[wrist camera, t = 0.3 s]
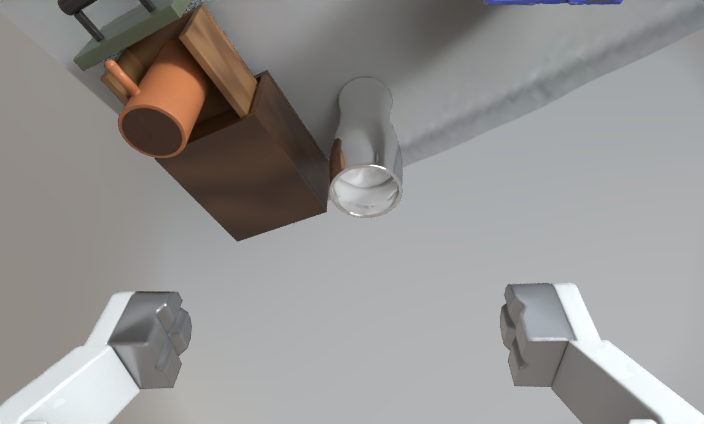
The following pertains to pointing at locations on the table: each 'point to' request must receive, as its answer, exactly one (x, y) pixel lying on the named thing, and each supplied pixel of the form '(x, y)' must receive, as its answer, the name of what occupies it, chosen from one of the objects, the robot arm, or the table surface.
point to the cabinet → (255, 168)
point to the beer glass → (365, 151)
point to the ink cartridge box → (549, 2)
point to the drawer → (148, 39)
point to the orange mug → (163, 101)
